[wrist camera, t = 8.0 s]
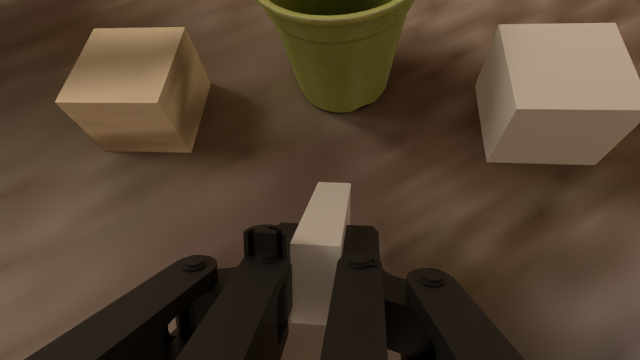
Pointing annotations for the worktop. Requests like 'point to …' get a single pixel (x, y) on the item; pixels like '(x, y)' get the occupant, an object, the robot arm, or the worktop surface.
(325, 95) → the plant pot
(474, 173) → the worktop surface
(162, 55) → the birch block
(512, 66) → the grey block
